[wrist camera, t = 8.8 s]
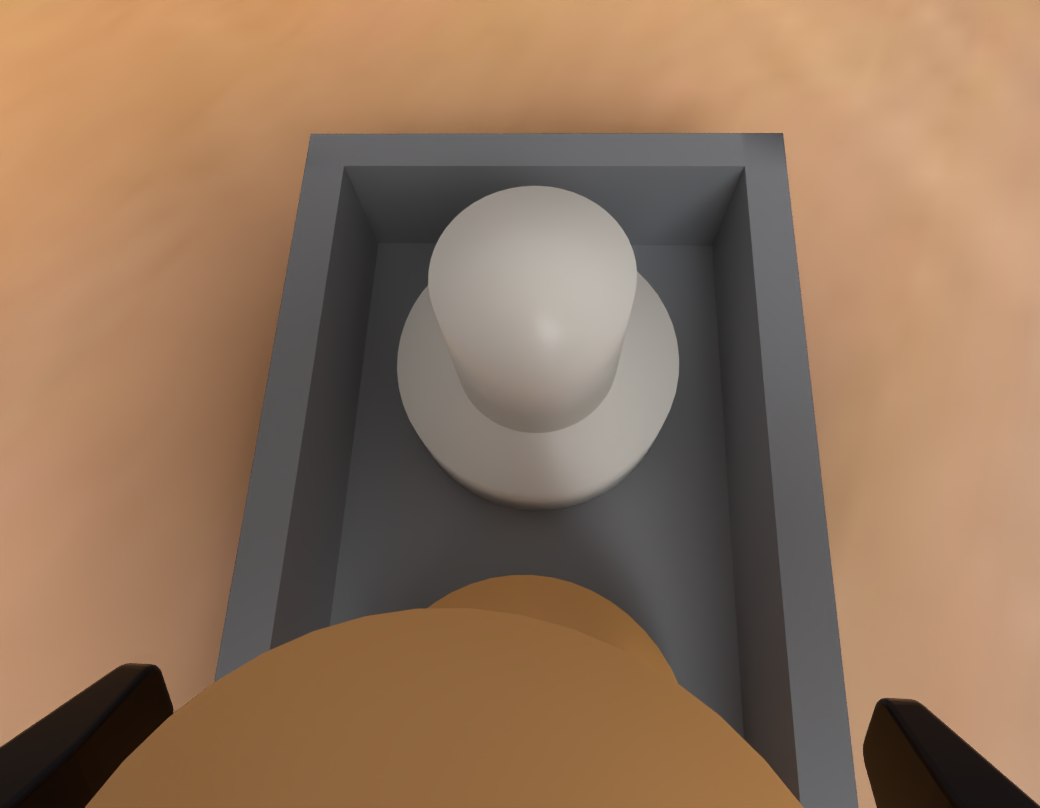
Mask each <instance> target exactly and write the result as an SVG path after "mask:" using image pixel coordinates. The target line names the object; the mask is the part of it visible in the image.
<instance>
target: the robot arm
mask: <svg viewBox="0 0 1040 808" xmlns="http://www.w3.org/2000/svg"><path fill="white" fill-rule="evenodd" d="M172 714H173V705H172V702H171V699H170V696H169V693H168V690H167V687H166V684H165V681H164V678H163V675H162V672H161V670H160V669H159V668H158V667H157V666H156V665H153V664H136V663H128V664H124V665H121V666H119V667H118V668H116V669H114V670H113V671H111V672H110V673H108V674H107V675H106V676H104V677H103V678H101V679H100V680H98V681H97V682H95V683H94V684H92V685H91V686H89V687H88V688H86V689H85V690H84V691H82V692H81V693H79V694H78V695H76V696H75V697H73V698H72V699H70V700H69V701H67V702H66V703H64V704H63V705H62V706H60V707H59V708H57V709H56V710H54V711H53V712H51V713H50V714H48V715H47V716H45V717H44V718H42V719H41V720H40V721H38V722H37V723H35V724H34V725H32V726H31V727H29V728H28V729H26V730H25V731H23V732H22V733H20V734H19V735H18V736H16V737H15V738H13V739H12V740H10V741H9V742H7V743H6V744H4V745H3V746H1V747H0V808H85V807H86V805H87V804H88V803H89V802H90V801H91V799H92V798H93V797H94V796H95V795H96V793H97V792H98V791H99V790H100V789H101V787H102V786H103V785H104V784H105V783H106V781H107V780H108V779H109V778H110V777H111V775H112V774H113V773H114V772H115V771H116V769H117V768H118V767H119V766H120V765H121V763H122V762H123V761H124V760H125V759H126V758H127V757H128V756H129V755H130V754H131V753H132V752H133V751H134V750H135V749H136V748H137V747H138V746H140V745H141V744H142V743H143V742H144V741H145V740H146V739H147V738H148V737H149V736H150V735H151V734H152V733H153V732H154V731H155V730H156V729H157V728H158V727H159V726H160V725H161V724H162V723H163V722H164V721H165V720H166V719H167V718H169V717H170V716H171V715H172ZM863 756H864V762H865V767H866V770H867V774H868V777H869V781H870V784H871V788H872V791H873V795H874V799H875V802H876V806H877V808H1040V806H1039V805H1038V804H1037V803H1036V802H1035V801H1034V800H1032V799H1031V798H1030V797H1029V796H1028V795H1027V794H1025V793H1024V792H1023V791H1022V790H1021V789H1020V788H1019V787H1017V786H1016V785H1015V784H1014V783H1013V782H1012V781H1010V780H1009V779H1008V778H1007V777H1006V776H1005V775H1003V774H1002V773H1001V772H1000V771H999V770H998V769H997V768H995V767H994V766H993V765H992V764H991V763H990V762H988V761H987V760H986V759H985V758H984V757H983V756H982V755H980V754H979V753H978V752H977V751H976V750H975V749H973V748H972V747H971V746H970V745H969V744H968V743H966V742H965V741H964V740H963V739H962V738H961V737H960V736H958V735H957V734H956V733H955V732H954V731H953V730H951V729H950V728H949V727H948V726H947V725H946V724H944V723H943V722H942V721H941V720H940V719H939V718H938V717H936V716H935V715H934V714H933V713H932V712H931V711H929V710H928V709H927V708H926V707H925V706H924V705H922V704H921V703H919V702H917V701H915V700H912V699H897V698H883V699H881V700H879V701H878V702H877V704H876V706H875V709H874V712H873V715H872V718H871V721H870V724H869V727H868V730H867V734H866V737H865V740H864V744H863Z"/></svg>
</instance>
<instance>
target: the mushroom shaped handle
mask: <svg viewBox="0 0 1040 808" xmlns="http://www.w3.org/2000/svg"><path fill="white" fill-rule="evenodd" d="M85 808H804V807H803V806H802V805H801V804H800V802H799V801H798V800H797V799H796V798H795V796H794V795H793V794H792V793H791V791H790V790H789V789H788V788H787V786H786V785H785V784H784V783H783V781H782V780H781V779H780V778H779V777H778V775H777V774H776V773H775V772H774V770H773V769H772V768H771V767H770V765H769V764H768V763H767V762H766V761H765V759H764V758H763V757H762V756H761V755H760V754H758V753H757V752H756V751H755V750H754V749H753V748H752V747H751V746H750V745H749V744H748V743H747V742H746V741H745V740H744V739H743V738H742V737H741V736H740V735H739V734H738V733H737V732H736V731H735V730H734V729H733V728H732V727H731V726H730V725H729V724H728V723H727V722H726V721H725V720H724V719H723V718H722V717H721V716H720V715H718V714H717V713H716V712H714V711H713V710H712V709H711V708H709V707H708V706H707V705H705V704H704V703H703V702H701V701H700V700H699V699H698V698H696V697H695V696H694V695H692V694H691V693H690V692H688V691H687V690H686V689H685V688H683V687H682V686H681V685H679V684H678V682H677V680H676V678H675V675H674V673H673V671H672V669H671V667H670V666H669V664H668V662H667V661H666V659H665V658H664V656H663V654H662V653H661V651H660V649H659V648H658V647H657V645H656V644H655V643H654V642H653V640H652V639H651V638H650V637H649V635H648V634H647V633H646V632H645V630H644V629H643V628H642V627H640V626H639V625H638V624H637V623H636V622H635V621H634V620H633V619H632V618H631V617H630V616H629V615H628V614H627V613H625V612H624V611H623V610H621V609H620V608H619V607H618V606H616V605H615V604H614V603H612V602H611V601H609V600H607V599H606V598H604V597H602V596H600V595H599V594H597V593H595V592H593V591H592V590H589V589H587V588H584V587H582V586H579V585H577V584H574V583H572V582H568V581H564V580H560V579H556V578H553V577H545V576H537V575H509V576H502V577H495V578H490V579H486V580H483V581H479V582H476V583H472V584H470V585H467V586H465V587H463V588H461V589H458V590H456V591H454V592H452V593H450V594H448V595H447V596H445V597H443V598H442V599H440V600H438V601H437V602H435V603H433V604H432V605H431V606H430V607H428V608H426V609H410V610H404V611H397V612H390V613H383V614H377V615H370V616H364V617H361V618H357V619H354V620H350V621H347V622H343V623H340V624H336V625H333V626H329V627H326V628H323V629H319V630H316V631H313V632H310V633H308V634H306V635H304V636H301V637H299V638H297V639H294V640H292V641H290V642H287V643H285V644H283V645H281V646H278V647H276V648H274V649H271V650H269V651H267V652H265V653H263V654H261V655H259V656H258V657H256V658H254V659H253V660H251V661H249V662H248V663H246V664H244V665H242V666H241V667H239V668H237V669H236V670H234V671H232V672H231V673H229V674H227V675H226V676H224V677H222V678H221V679H219V680H217V681H215V682H214V683H213V684H212V685H210V686H209V687H208V688H206V689H205V690H204V691H202V692H201V693H200V694H198V695H197V696H196V697H195V698H193V699H192V700H191V701H189V702H188V703H187V704H185V705H184V706H183V707H182V708H180V709H179V710H178V711H176V712H175V713H174V714H172V715H171V716H170V717H169V718H167V719H166V720H165V721H164V722H163V723H162V724H161V725H160V726H159V727H158V728H157V729H156V730H155V731H154V732H153V733H152V734H151V735H150V736H149V737H148V738H147V739H146V740H145V741H144V742H143V743H142V744H141V745H140V746H138V747H137V748H136V749H135V750H134V751H133V752H132V753H131V754H130V755H129V756H128V757H127V758H126V759H125V760H124V761H123V762H122V763H121V765H120V766H119V767H118V768H117V769H116V771H115V772H114V773H113V774H112V775H111V777H110V778H109V779H108V780H107V781H106V783H105V784H104V785H103V786H102V787H101V789H100V790H99V791H98V792H97V793H96V795H95V796H94V797H93V798H92V799H91V801H90V802H89V803H88V804H87V805H86V807H85Z"/></svg>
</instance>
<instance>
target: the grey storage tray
mask: <svg viewBox="0 0 1040 808" xmlns="http://www.w3.org/2000/svg"><path fill="white" fill-rule="evenodd" d="M509 575H537V576H545V577H553V578H556V579H560V580H564V581H568V582H572V583H574V584H577V585H579V586H582V587H584V588H587V589H589V590H592V591H593V592H595V593H597V594H599V595H600V596H602V597H604V598H606V599H607V600H609V601H611V602H612V603H614V604H615V605H616V606H618V607H619V608H620V609H621V610H623V611H624V612H625V613H627V614H628V615H629V616H630V617H631V618H632V619H633V620H634V621H635V622H636V623H637V624H638V625H639V626H640V627H642V628H643V629H644V630H645V632H646V633H647V634H648V635H649V637H650V638H651V639H652V640H653V642H654V643H655V644H656V645H657V647H658V648H659V649H660V651H661V653H662V654H663V656H664V658H665V659H666V661H667V662H668V664H669V666H670V667H671V669H672V671H673V673H674V675H675V678H676V680H677V682H678V684H679V685H681V686H682V687H683V688H685V689H686V690H687V691H688V692H690V693H691V694H692V695H694V696H695V697H696V698H698V699H699V700H700V701H701V702H703V703H704V704H705V705H707V706H708V707H709V708H711V709H712V710H713V711H714V712H716V713H717V714H718V715H720V716H721V717H722V718H723V719H724V720H725V721H726V722H727V723H728V724H729V725H730V726H731V727H732V728H733V729H734V730H735V731H736V732H737V733H738V734H739V735H740V736H741V737H742V738H743V739H744V740H745V741H746V742H747V743H748V744H749V745H750V746H751V747H752V748H753V749H754V750H755V751H756V752H757V753H758V754H760V755H761V756H762V757H763V758H764V759H765V761H766V762H767V763H768V764H769V765H770V767H771V768H772V769H773V770H774V772H775V773H776V774H777V775H778V777H779V778H780V779H781V780H782V781H783V783H784V784H785V785H786V786H787V788H788V789H789V790H790V791H791V793H792V794H793V795H794V796H795V798H796V799H797V800H798V801H799V802H800V804H801V805H802V806H803V807H804V808H858V800H857V791H856V782H855V773H854V764H853V755H852V746H851V737H850V728H849V719H848V710H847V701H846V692H845V684H844V675H843V666H842V657H841V648H840V639H839V630H838V621H837V612H836V603H835V594H834V585H833V576H832V567H831V558H830V549H829V541H828V532H827V523H826V514H825V505H824V496H823V487H822V478H821V469H820V460H819V451H818V442H817V433H816V424H815V415H814V406H813V398H812V389H811V380H810V371H809V362H808V353H807V344H806V335H805V326H804V317H803V308H802V299H801V290H800V281H799V272H798V263H797V254H796V246H795V237H794V228H793V219H792V210H791V201H790V192H789V183H788V174H787V165H786V156H785V147H784V138H783V133H581V134H311V136H310V142H309V148H308V153H307V159H306V165H305V170H304V176H303V182H302V187H301V193H300V199H299V204H298V210H297V216H296V221H295V227H294V233H293V238H292V244H291V250H290V255H289V261H288V267H287V272H286V278H285V284H284V289H283V295H282V301H281V306H280V312H279V318H278V323H277V329H276V335H275V340H274V346H273V352H272V357H271V363H270V369H269V374H268V380H267V386H266V391H265V397H264V403H263V408H262V414H261V420H260V426H259V431H258V437H257V443H256V448H255V454H254V460H253V465H252V471H251V477H250V482H249V488H248V494H247V499H246V505H245V511H244V516H243V522H242V528H241V533H240V539H239V545H238V550H237V556H236V562H235V567H234V573H233V579H232V584H231V590H230V596H229V601H228V607H227V613H226V618H225V624H224V630H223V635H222V641H221V647H220V652H219V658H218V664H217V669H216V675H215V681H217V680H219V679H221V678H222V677H224V676H226V675H227V674H229V673H231V672H232V671H234V670H236V669H237V668H239V667H241V666H242V665H244V664H246V663H248V662H249V661H251V660H253V659H254V658H256V657H258V656H259V655H261V654H263V653H265V652H267V651H269V650H271V649H274V648H276V647H278V646H281V645H283V644H285V643H287V642H290V641H292V640H294V639H297V638H299V637H301V636H304V635H306V634H308V633H310V632H313V631H316V630H319V629H323V628H326V627H329V626H333V625H336V624H340V623H343V622H347V621H350V620H354V619H357V618H361V617H364V616H370V615H377V614H383V613H390V612H397V611H404V610H410V609H426V608H428V607H430V606H431V605H432V604H433V603H435V602H437V601H438V600H440V599H442V598H443V597H445V596H447V595H448V594H450V593H452V592H454V591H456V590H458V589H461V588H463V587H465V586H467V585H470V584H472V583H476V582H479V581H483V580H486V579H490V578H495V577H502V576H509ZM215 681H214V682H215Z"/></svg>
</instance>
